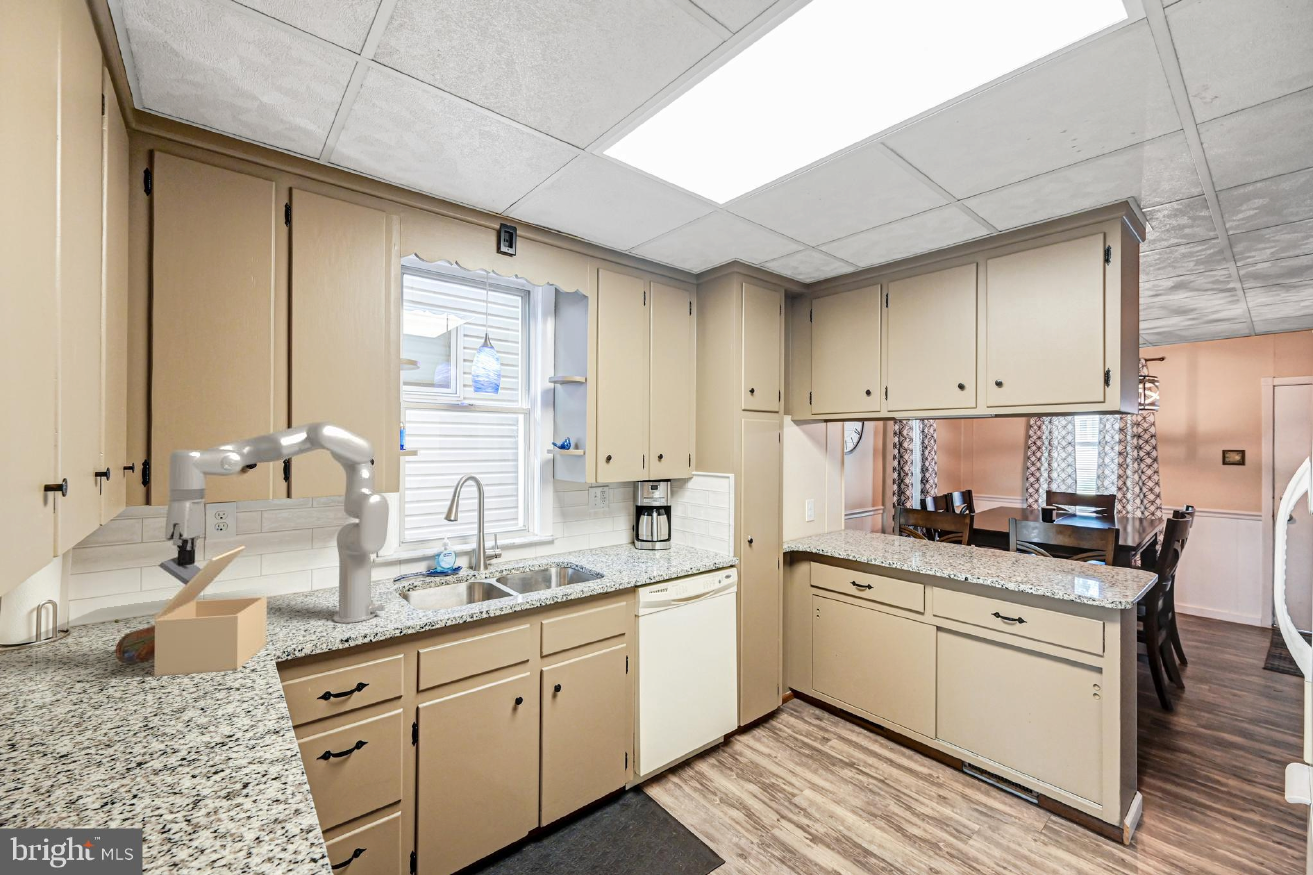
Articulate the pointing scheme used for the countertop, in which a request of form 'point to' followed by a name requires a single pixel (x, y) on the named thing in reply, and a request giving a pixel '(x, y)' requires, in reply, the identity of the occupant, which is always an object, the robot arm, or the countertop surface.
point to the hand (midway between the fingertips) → (186, 564)
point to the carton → (210, 636)
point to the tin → (137, 646)
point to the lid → (194, 578)
